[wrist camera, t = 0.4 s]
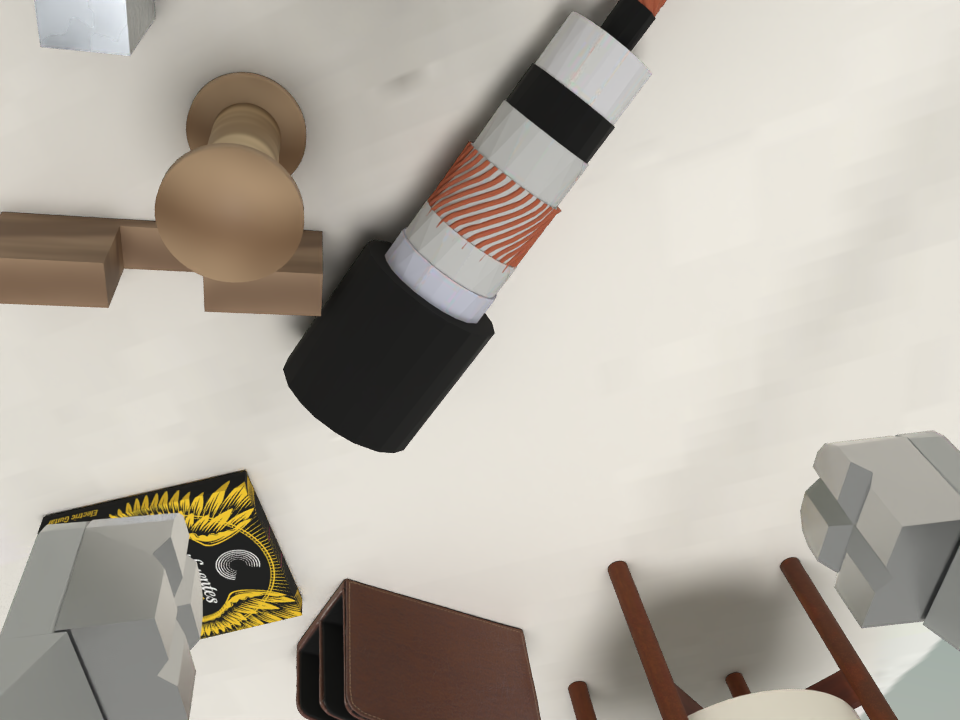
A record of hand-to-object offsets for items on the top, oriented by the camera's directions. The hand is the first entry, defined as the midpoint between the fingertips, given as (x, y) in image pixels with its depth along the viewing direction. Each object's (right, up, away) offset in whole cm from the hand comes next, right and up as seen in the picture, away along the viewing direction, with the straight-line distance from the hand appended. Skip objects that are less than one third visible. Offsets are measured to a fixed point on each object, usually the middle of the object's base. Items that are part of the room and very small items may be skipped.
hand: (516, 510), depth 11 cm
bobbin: (-15, +16, +41) cm, 46 cm away
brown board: (-21, +10, +44) cm, 50 cm away
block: (-20, +23, +35) cm, 47 cm away
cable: (0, +14, +45) cm, 48 cm away
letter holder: (-7, -25, +71) cm, 75 cm away
